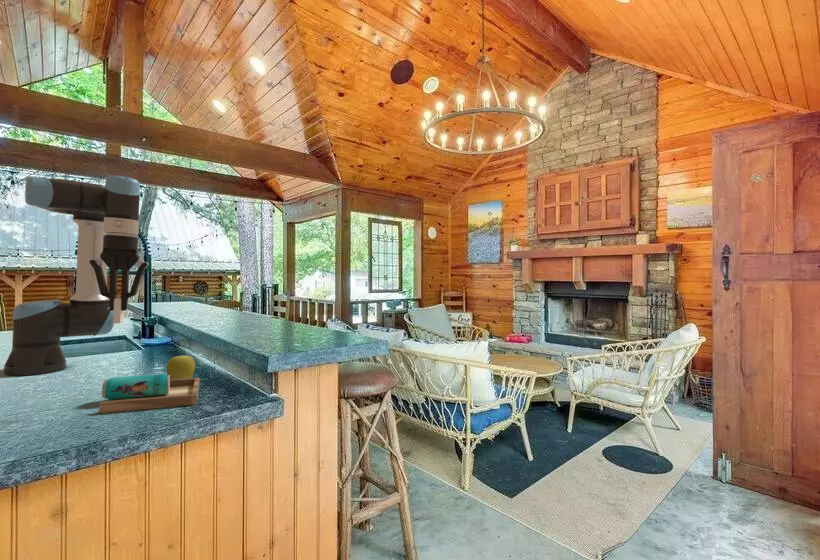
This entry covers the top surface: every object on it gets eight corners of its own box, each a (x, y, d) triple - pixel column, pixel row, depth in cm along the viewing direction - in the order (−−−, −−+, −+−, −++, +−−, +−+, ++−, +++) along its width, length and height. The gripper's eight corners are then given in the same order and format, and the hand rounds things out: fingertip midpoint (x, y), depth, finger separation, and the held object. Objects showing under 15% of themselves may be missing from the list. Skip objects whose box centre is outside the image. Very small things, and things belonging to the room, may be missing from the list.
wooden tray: (116, 391, 114) (116, 383, 114) (199, 385, 123) (199, 377, 123) (99, 413, 97) (99, 403, 97) (196, 404, 106) (196, 395, 106)
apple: (189, 381, 123) (181, 350, 123) (165, 387, 124) (157, 357, 124) (203, 375, 131) (195, 346, 131) (180, 381, 131) (173, 352, 131)
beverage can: (101, 382, 102) (168, 377, 109) (106, 375, 107) (170, 371, 114) (101, 403, 103) (168, 397, 110) (105, 395, 108) (169, 390, 115)
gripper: (86, 232, 99) (83, 325, 100) (147, 236, 105) (144, 324, 105) (94, 233, 106) (91, 320, 106) (152, 238, 112) (148, 320, 112)
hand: (117, 322), depth 106 cm, fingers closed
